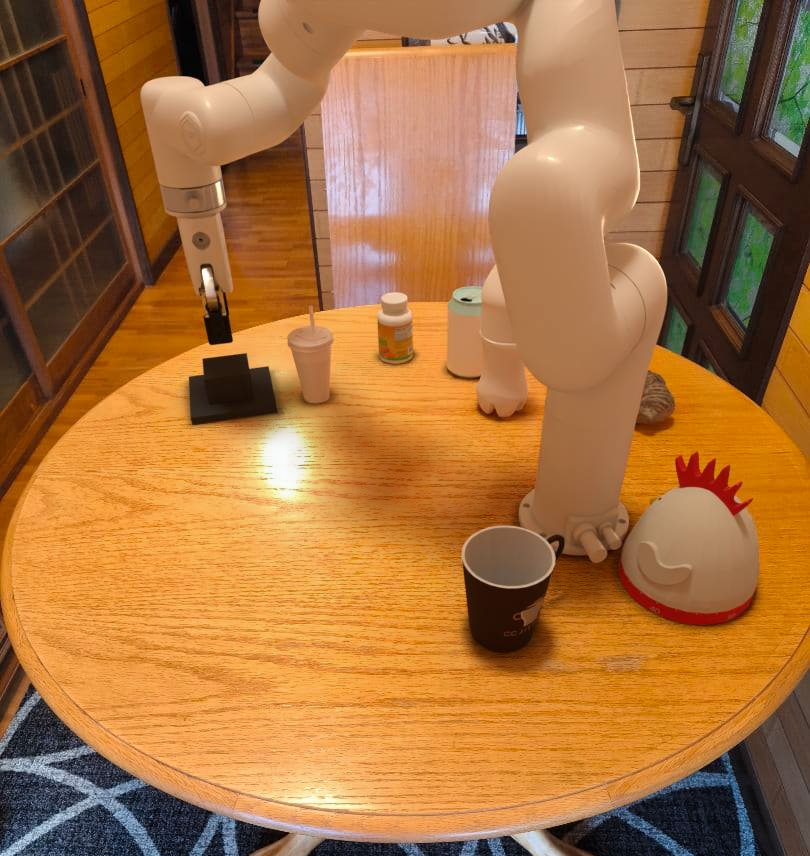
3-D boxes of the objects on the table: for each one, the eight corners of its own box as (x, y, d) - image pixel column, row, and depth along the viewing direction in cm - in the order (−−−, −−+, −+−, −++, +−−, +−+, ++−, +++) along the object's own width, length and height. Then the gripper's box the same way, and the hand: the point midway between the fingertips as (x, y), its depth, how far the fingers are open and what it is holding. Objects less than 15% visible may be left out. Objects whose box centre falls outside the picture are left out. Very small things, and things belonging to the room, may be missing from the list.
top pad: (254, 398, 110) (250, 373, 107) (209, 404, 108) (203, 379, 106) (250, 377, 114) (246, 352, 112) (207, 382, 113) (202, 358, 111)
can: (494, 380, 114) (499, 303, 107) (447, 380, 115) (449, 304, 107) (490, 357, 120) (494, 283, 112) (445, 358, 120) (446, 284, 112)
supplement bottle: (373, 352, 122) (370, 294, 115) (404, 345, 123) (402, 287, 117) (387, 367, 118) (384, 307, 112) (418, 360, 120) (418, 300, 113)
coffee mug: (473, 669, 73) (477, 596, 66) (448, 606, 79) (450, 533, 73) (586, 646, 75) (601, 572, 68) (553, 586, 81) (564, 514, 75)
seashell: (636, 444, 102) (680, 422, 105) (645, 400, 97) (690, 379, 100) (589, 410, 108) (631, 390, 111) (595, 368, 103) (639, 348, 105)
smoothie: (331, 410, 109) (322, 317, 100) (288, 406, 110) (276, 314, 101) (343, 387, 114) (335, 297, 104) (302, 384, 115) (291, 294, 106)
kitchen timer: (667, 519, 89) (697, 408, 79) (777, 579, 81) (826, 464, 72) (592, 574, 83) (614, 460, 73) (704, 646, 75) (747, 529, 65)
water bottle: (467, 414, 107) (474, 233, 91) (487, 390, 112) (498, 215, 96) (515, 426, 105) (531, 243, 88) (533, 401, 110) (552, 223, 93)
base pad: (277, 413, 109) (275, 393, 107) (192, 425, 107) (187, 405, 105) (269, 373, 118) (266, 354, 115) (190, 383, 116) (185, 364, 113)
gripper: (228, 215, 88) (252, 355, 99) (220, 172, 100) (242, 301, 112) (162, 221, 86) (193, 362, 98) (162, 177, 99) (190, 307, 111)
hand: (219, 329), depth 105 cm, fingers open, 7 cm apart
